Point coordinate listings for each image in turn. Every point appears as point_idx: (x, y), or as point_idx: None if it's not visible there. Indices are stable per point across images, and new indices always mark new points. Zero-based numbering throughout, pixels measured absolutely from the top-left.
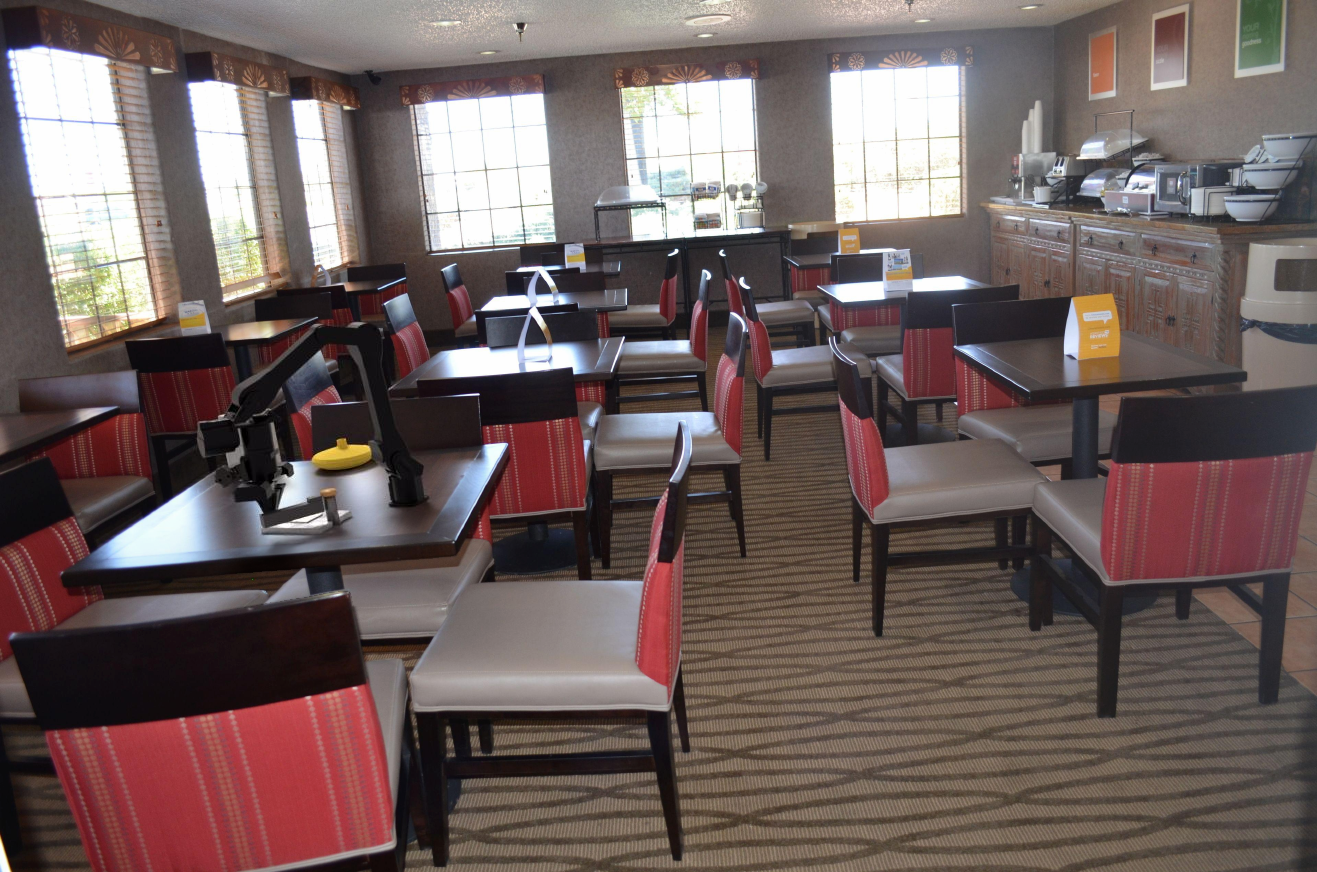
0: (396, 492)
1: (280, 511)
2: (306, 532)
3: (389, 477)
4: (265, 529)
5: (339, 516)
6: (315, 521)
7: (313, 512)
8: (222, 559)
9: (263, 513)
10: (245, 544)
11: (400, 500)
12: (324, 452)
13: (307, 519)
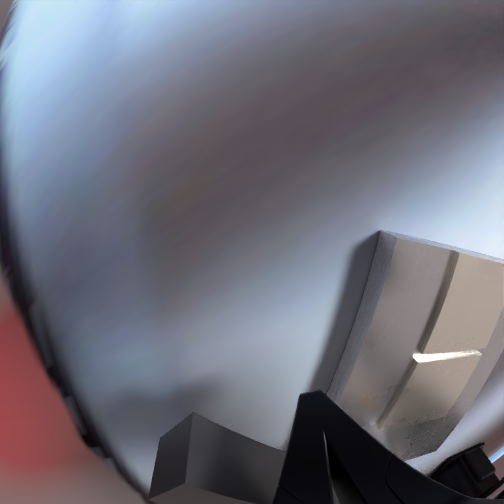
0: (450, 487)
1: None
2: None
3: (479, 494)
4: (382, 266)
5: None
6: (382, 437)
7: None
8: (15, 247)
9: (210, 493)
10: (192, 240)
11: (439, 481)
12: None
13: (405, 415)
